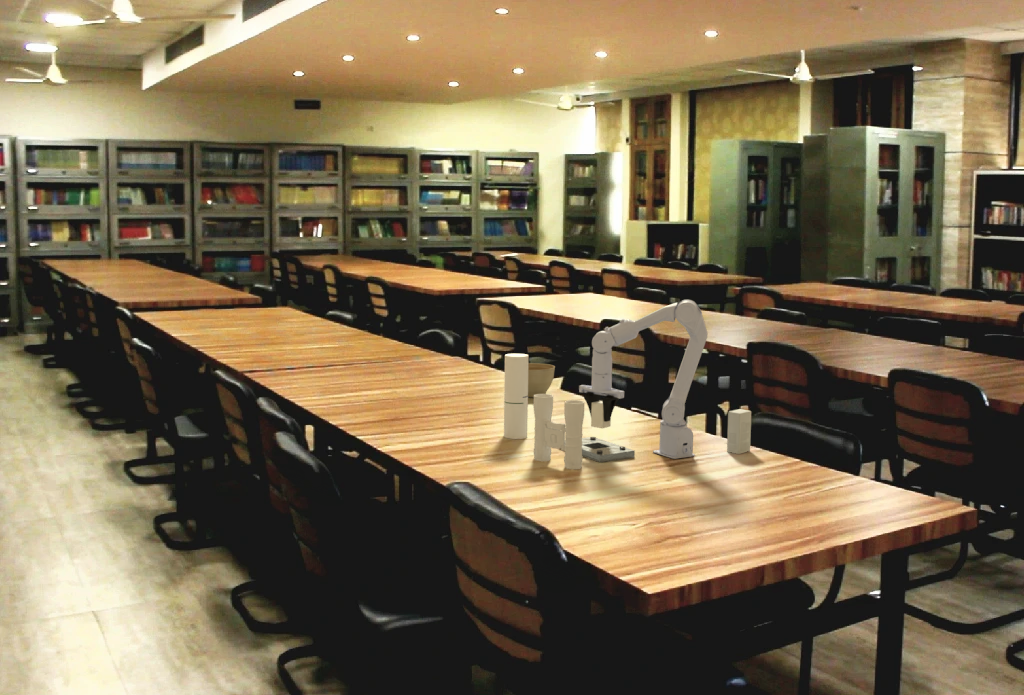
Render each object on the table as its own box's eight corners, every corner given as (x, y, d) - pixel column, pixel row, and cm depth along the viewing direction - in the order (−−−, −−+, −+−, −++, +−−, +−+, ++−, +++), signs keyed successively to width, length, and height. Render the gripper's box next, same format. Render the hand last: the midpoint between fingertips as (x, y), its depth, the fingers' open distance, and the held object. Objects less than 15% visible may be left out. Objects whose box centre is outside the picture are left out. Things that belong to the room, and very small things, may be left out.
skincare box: (737, 448, 312) (739, 408, 311) (750, 451, 309) (752, 410, 308) (726, 451, 308) (727, 411, 306) (738, 454, 305) (740, 413, 303)
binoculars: (528, 458, 297) (529, 395, 294) (542, 455, 300) (543, 393, 298) (573, 470, 284) (574, 404, 282) (587, 467, 288) (588, 402, 286)
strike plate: (634, 457, 300) (634, 448, 299) (600, 462, 294) (600, 453, 293) (592, 443, 317) (592, 434, 316) (559, 447, 310) (559, 439, 310)
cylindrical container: (532, 436, 325) (533, 355, 321) (516, 440, 320) (517, 357, 316) (514, 432, 330) (516, 352, 326) (498, 436, 324) (499, 355, 321)
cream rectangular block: (610, 426, 308) (611, 402, 307) (602, 428, 304) (603, 404, 304) (599, 424, 310) (599, 400, 309) (591, 426, 307) (591, 402, 306)
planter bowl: (527, 389, 404) (527, 361, 403) (562, 394, 395) (563, 365, 393) (501, 395, 391) (502, 366, 390) (538, 401, 382) (538, 371, 380)
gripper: (630, 374, 303) (629, 421, 305) (589, 368, 313) (588, 414, 315) (616, 377, 298) (615, 425, 300) (575, 371, 307) (574, 417, 309)
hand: (600, 419), depth 307 cm, fingers closed on cream rectangular block, 4 cm apart
